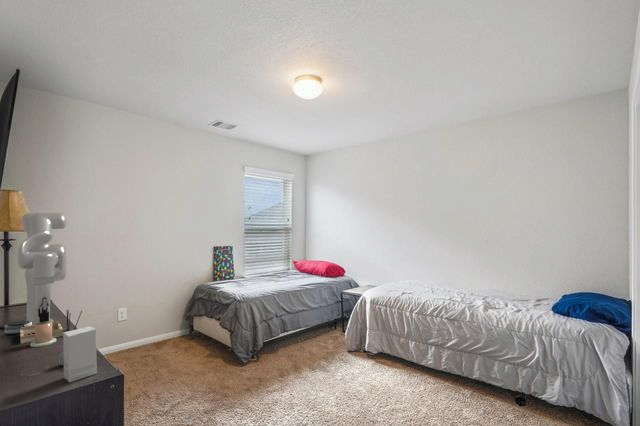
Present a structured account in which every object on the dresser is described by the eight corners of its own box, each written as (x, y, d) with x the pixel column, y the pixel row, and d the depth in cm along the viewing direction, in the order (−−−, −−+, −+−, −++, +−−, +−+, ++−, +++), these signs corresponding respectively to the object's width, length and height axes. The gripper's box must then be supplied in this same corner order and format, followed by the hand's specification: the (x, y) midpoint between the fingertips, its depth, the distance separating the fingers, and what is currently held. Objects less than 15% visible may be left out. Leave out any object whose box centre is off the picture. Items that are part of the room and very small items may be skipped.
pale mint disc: (29, 343, 149) (29, 341, 149) (55, 338, 155) (55, 336, 155) (30, 348, 142) (30, 346, 142) (57, 343, 148) (57, 341, 148)
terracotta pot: (34, 341, 149) (34, 315, 149) (51, 337, 153) (51, 312, 153) (34, 344, 144) (35, 317, 145) (52, 341, 148) (52, 315, 149)
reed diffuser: (57, 363, 126) (57, 309, 127) (80, 357, 131) (80, 306, 131) (60, 371, 118) (60, 314, 119) (84, 365, 123) (84, 310, 124)
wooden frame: (20, 335, 160) (20, 327, 160) (59, 328, 170) (59, 320, 171) (20, 344, 148) (20, 334, 149) (63, 335, 159) (63, 327, 159)
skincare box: (91, 369, 119) (91, 325, 120) (97, 374, 115) (97, 328, 116) (62, 378, 113) (62, 331, 113) (68, 383, 109) (68, 335, 109)
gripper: (31, 279, 153) (31, 316, 153) (33, 284, 141) (33, 325, 140) (52, 277, 158) (52, 313, 158) (56, 282, 146) (56, 321, 145)
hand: (43, 319), depth 149 cm, fingers open, 9 cm apart
